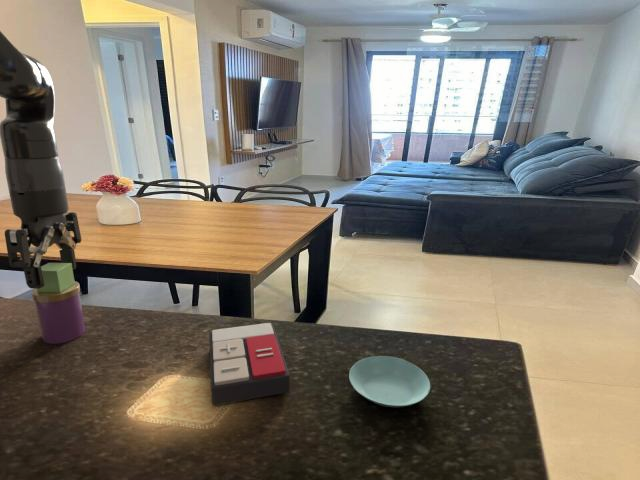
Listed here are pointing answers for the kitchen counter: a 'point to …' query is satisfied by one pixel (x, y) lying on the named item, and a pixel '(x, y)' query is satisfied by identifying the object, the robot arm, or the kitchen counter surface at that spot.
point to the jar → (60, 314)
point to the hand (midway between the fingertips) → (54, 277)
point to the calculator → (246, 364)
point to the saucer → (389, 381)
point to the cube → (57, 277)
